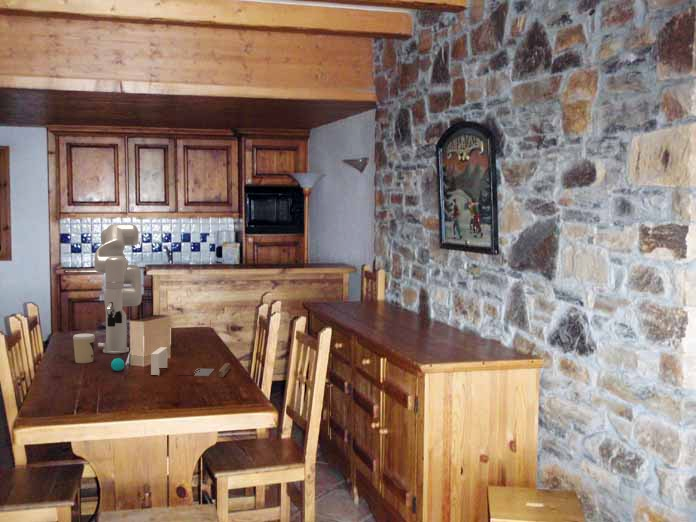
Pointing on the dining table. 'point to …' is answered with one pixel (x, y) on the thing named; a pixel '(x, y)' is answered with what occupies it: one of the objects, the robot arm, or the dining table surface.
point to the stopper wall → (224, 370)
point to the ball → (117, 364)
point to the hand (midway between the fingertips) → (114, 324)
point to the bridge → (158, 360)
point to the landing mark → (203, 372)
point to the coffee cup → (84, 348)
